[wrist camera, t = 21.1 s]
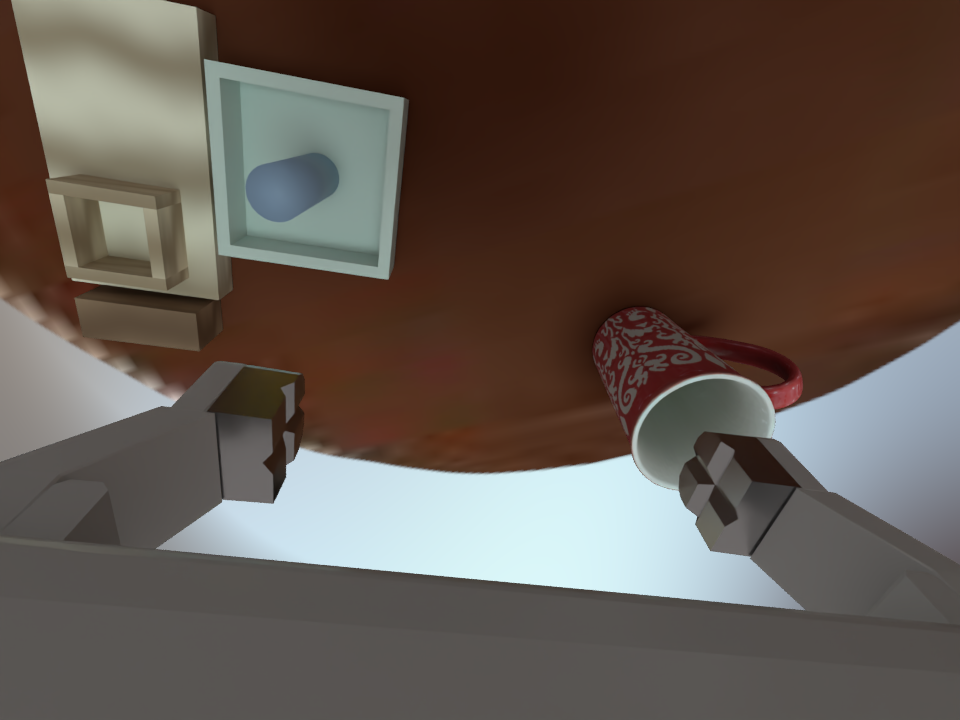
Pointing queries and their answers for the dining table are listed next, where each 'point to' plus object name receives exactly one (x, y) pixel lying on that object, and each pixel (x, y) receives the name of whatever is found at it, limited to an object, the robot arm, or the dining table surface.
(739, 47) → the dining table surface
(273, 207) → the dowel
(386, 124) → the tray
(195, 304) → the block
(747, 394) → the mug
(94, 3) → the board
